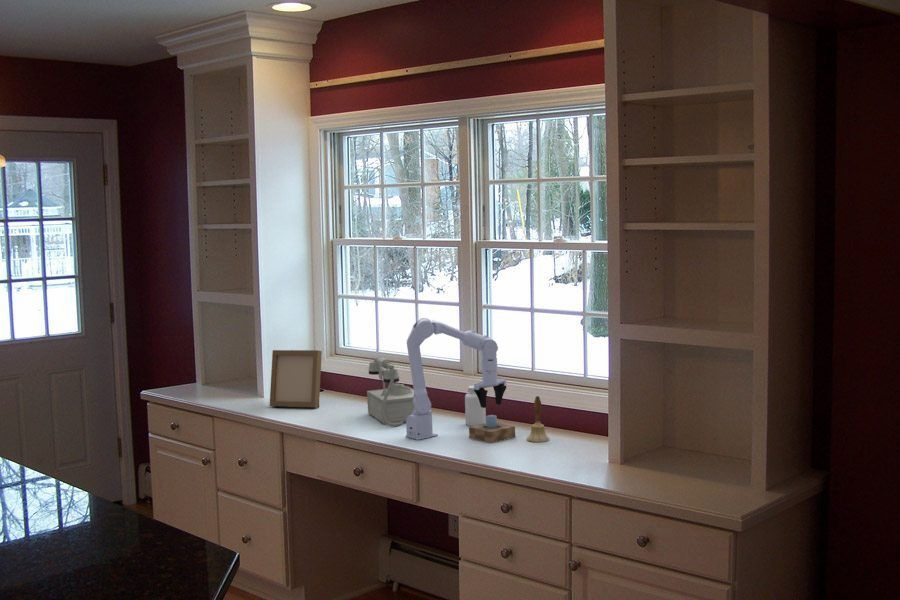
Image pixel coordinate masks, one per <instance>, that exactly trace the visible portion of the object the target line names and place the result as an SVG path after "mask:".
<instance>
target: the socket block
mask: <svg viewBox="0 0 900 600" xmlns="http://www.w3.org/2000/svg"><path fill="white" fill-rule="evenodd" d="M512 437H514V438H515V437H516V426H514V425H510V424H506V423H501V422H497V428H494V429H488V428H486V423H485V424H480V425H476V426H469V427H468V438H469V439H472V438H473V439H474V440H478V441H482V442H485V443H489V442H490V443H489V444H493V443H497V442H500V440H501V441H505V440H508V438H510V439H513V438H512ZM504 439H505V440H504ZM496 441H497V442H496ZM492 442H493V443H492Z"/></svg>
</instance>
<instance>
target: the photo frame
mask: <svg viewBox="0 0 900 600" xmlns="http://www.w3.org/2000/svg"><path fill="white" fill-rule="evenodd" d="M322 352H323V351H321V350H316V349H314V350H313V349H312V350H311V349H309V350H307V349H305V350H303V349H301V350H299V349H298V350H297V349H290V350H288V349H286V350H285V349H283V350H282V349H279V350H278V349H277V350H276V349H272V354H271V355H272V356H271V357H272V358H271V374H270V376H271V377H270V388H269V389H270V390H269V407H276V406H287V407H289V408H319V407H320V395H321V394H320V393H321V374H322V372H321V371H322V355H323V353H322ZM318 406H319V407H318ZM287 407H286V408H287Z"/></svg>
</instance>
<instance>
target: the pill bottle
mask: <svg viewBox="0 0 900 600" xmlns="http://www.w3.org/2000/svg"><path fill="white" fill-rule="evenodd" d="M467 390H468V391H467V392H468V393H466V394H465V395H464V408H465V411H464V412H465V424H466V425H467V426H469V427H472V426H476V425H480V424H485V423H486V416H487V413H486V409H487V407H486V408H482V407H481V405H480V402H479V399H478V397H477V395H476V393H475V391H474V385H469V386H468V388H467Z"/></svg>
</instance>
